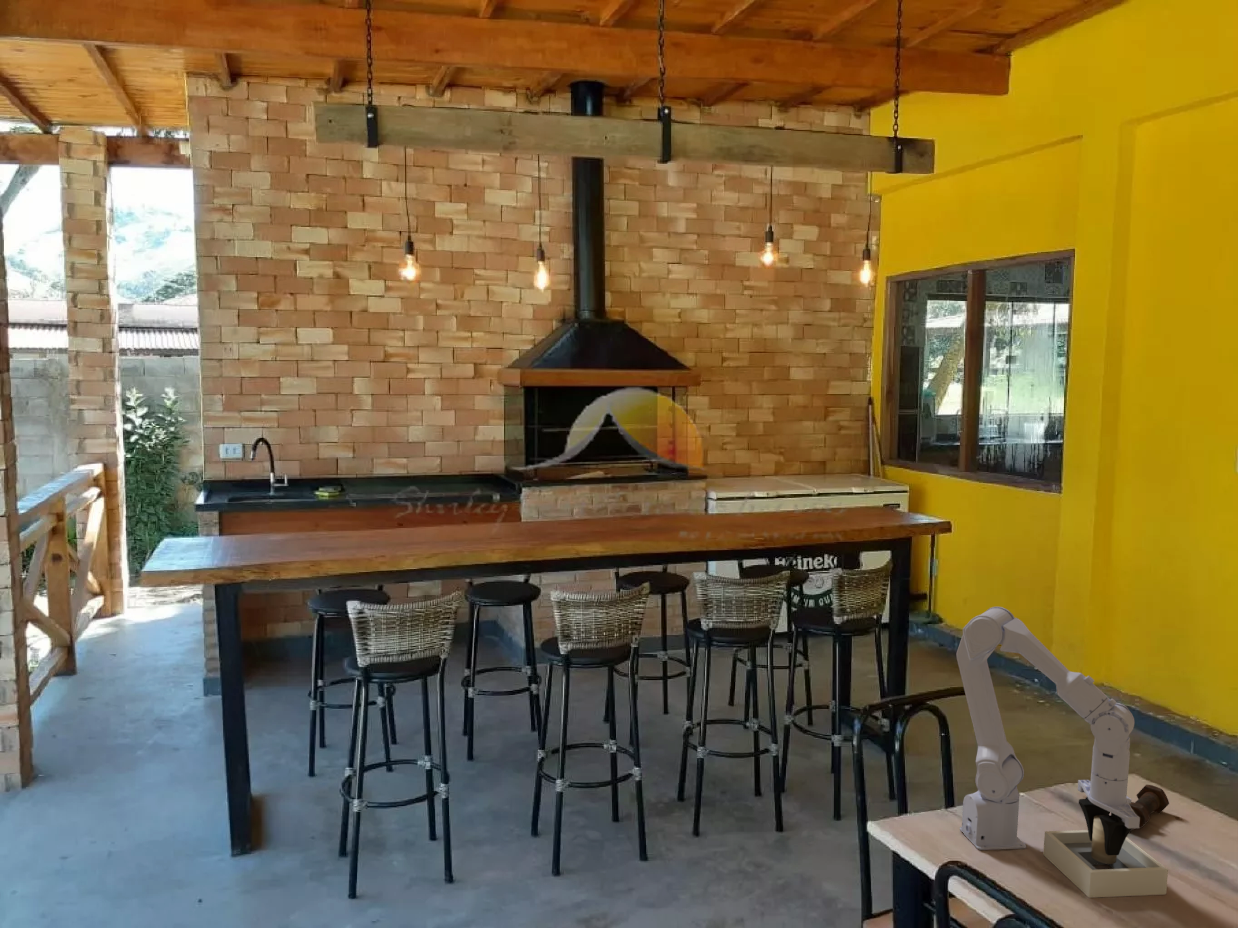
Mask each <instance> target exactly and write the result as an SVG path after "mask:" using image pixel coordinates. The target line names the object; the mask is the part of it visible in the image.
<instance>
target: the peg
mask: <svg viewBox="0 0 1238 928" xmlns="http://www.w3.org/2000/svg"><path fill="white" fill-rule="evenodd" d="M1100 816H1102V815H1096V816H1094V822H1093V835H1092V848H1091V857H1092V858H1093V859H1095V860H1096V861H1099V862H1102V863H1106V864H1105V865H1108V864H1113V863H1116V859H1117V855H1107V854H1106V852H1105V839H1104V830H1103V826H1102V823H1101V820H1100V818H1099V817H1100Z"/></svg>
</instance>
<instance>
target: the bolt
mask: <svg viewBox="0 0 1238 928" xmlns="http://www.w3.org/2000/svg"><path fill="white" fill-rule="evenodd" d="M1136 798H1137V800H1136V801H1131V803H1130V804H1129V805H1130V806H1131V808H1132V809H1133V811H1134V813H1135V814H1136V815H1137V816H1138V817H1140V823H1139V828H1138V829H1142V827H1144V826H1145V825H1146V824H1147V823H1148V821H1149V820H1150V819H1151V818H1150V815H1151V814H1152V813H1153V812H1154V813H1156V814H1159V813H1160V814H1161V813H1162V812H1163V811H1164V810H1165V809H1166V807H1168V806H1169V805H1170V801H1169V799H1168V796H1167V794H1166V793H1165V791H1164V790H1163V788H1160V787H1159V786H1157V785H1152V784H1145V785H1144V786H1143V787H1142V788H1141V789H1140V790H1139V791H1138V793H1137V794H1136ZM1135 829H1136V828H1133V829H1132V830H1131V831H1133V830H1135Z"/></svg>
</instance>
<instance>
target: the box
mask: <svg viewBox="0 0 1238 928" xmlns="http://www.w3.org/2000/svg"><path fill="white" fill-rule="evenodd" d="M1091 848H1092V841H1090V838H1089V833H1088V829H1081V830H1080V829H1077V830H1076V829H1075V830H1073V829H1072V830H1049V831H1047V830H1046V831H1044V838H1043V853H1042V855H1043V856H1044V857H1045V858H1046V859H1047V860H1048V861H1050V863H1052V865H1054V866H1055V867H1056V868H1057V869H1058V870H1059V871H1060V872H1061V873H1062V874H1063V875H1064V876H1065V877H1067V879H1068V880H1070V881H1071V883H1073V884H1074V885H1075V886H1076V887H1077V888H1078V889H1079V890H1080V891H1081V892H1082V893H1083V894H1085V895H1086V896H1087V897H1088V899H1089V898H1090V899H1091V898H1111V897H1112V898H1113V897H1114V898H1115V897H1130V896H1131V897H1136V896H1138V897H1139V896H1140V897H1141V896H1158V895H1159V896H1161V895H1164V896H1165V895H1166V894H1167V887H1168V876H1169V869H1168V868H1167V867H1166V866H1164V865H1163V864H1162V863H1161V862H1160V861H1158V860H1156V859H1155V858H1154V857H1153V856H1152V855H1150V854H1149V853H1148V852H1146V851H1145V850H1144V849H1142V848H1141V847H1140V846H1138V844H1136V843H1135V842H1133V841H1132V840H1131V839H1130V838H1129V837H1128V836H1127V837H1126V839H1125V841H1124V843H1123V845H1122V848H1121V850H1120V853H1119V855H1117V859H1116V863H1113V864H1106V863H1102V862H1099V861H1096V860H1095V859H1093V858H1092V857H1091ZM1095 865H1097V866H1099V865H1101V866H1102V865H1108V866H1109V867H1110V868H1109V869H1108V868H1105V869H1102V868H1101V869H1098V868H1096V867H1095Z"/></svg>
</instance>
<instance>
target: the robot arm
mask: <svg viewBox="0 0 1238 928" xmlns="http://www.w3.org/2000/svg"><path fill="white" fill-rule="evenodd" d="M999 645H1001V646H1000V649H999V651H1001V652H1005V653H1016V654H1020V655H1021V657H1023V658H1024V659H1025V660H1027V661H1028V662H1029V663H1030V664H1031V665H1033V666H1034V667H1035V668H1036V669H1037V670H1038V671H1040V672H1041V673H1042V674H1043V675H1044V676H1046V677H1047V678H1048V679H1049V680H1050V681H1052V682H1053V683H1054V684H1055V686H1056V692H1057V696H1058V697H1059V698H1060V699H1061V700H1063V701H1064V702H1065V703H1066V704H1067V705H1068V706H1069V707H1070V708H1071V709H1073V711H1075V712H1076V714H1077V715H1079V716H1080V717H1081V719H1083V720H1084V721H1085V722H1087V723H1088V724H1089V725H1090V731H1091V733H1092V735H1093V737H1094V743H1093V746H1092V757H1091V771H1090V772H1091V773H1090V780H1089V779H1078V780H1077V791H1079V792H1080V793H1084V794H1085V796H1086V797H1085V798H1079V799H1078V805H1079V807H1080V809H1081V811H1082V813H1083V816H1084V819H1085V823H1086V827H1087V830H1088V833H1089V838H1090V841H1092V835H1093V822H1094V816H1096V815H1102V816H1100V817H1099V818H1100V820H1101V823H1102V826H1103V830H1104V839H1105V852H1106V854H1107V855H1119V853H1120V850H1121V848H1122V845H1123V843H1124V841H1125V839H1126V837H1127V838H1128V835H1129V834H1130V833H1131V831H1133V830H1134V829H1133V828H1135V829H1140V828H1139V823H1140V817H1138V816H1137V815H1136V814H1135V813H1134V811H1133V809H1132V808H1131V806H1130V805H1129V804H1130V803H1131V802H1133V801H1132V798H1131V797H1129V796H1128V795H1127V794H1128V781H1129V780H1128V779H1129V771H1130V770H1129V769H1130V768H1129V767H1130V757H1131V752H1130V747H1131V737H1130V734H1131V733H1132V732H1133V730H1134V727H1135V717H1134V716H1133V713H1132V712H1131V711H1130V709H1129V707H1128V706H1127V705H1124V704H1123V703H1119V702H1117V700H1115V699H1114V698H1109V697H1108V695H1106V694H1105V693H1104V692H1103V691H1102V689H1099V687H1097V686H1096V685H1095V684H1094V682H1095V679H1094V678H1093V677H1092V676H1090V675H1087V676H1085V675H1084V674H1083V673H1082V672H1078V671H1077V672H1076V671H1071V670H1069V669H1068V668H1067V667H1066V666H1065V665H1064V664H1063V663H1062V662H1061V661H1060V660H1059V659H1058V658H1057V657H1056V656H1055V655H1054V653H1052V652H1051V651H1050V650H1049V649H1048V648H1047V647H1046V646H1045V645H1044V644H1043V642H1041V641H1040V640H1039V638H1037V637H1036V636H1035V635H1034V634H1033V633H1032V632H1031V631H1030V630H1029V628H1028V627H1027V626H1026V624H1025V623H1024V622H1023V621H1022V620H1021V619H1019V618H1017V617H1015V615H1014V614H1013V613H1012V612H1011V611H1010V610H1009V609H1007V608H1004V607H1003V606H992V607H989V608H988V609H987V610H986V611H984V612H983V613H980V614H978V615H976V616H974V617H973V618H971V619H970V620H969V621H968V623H967V624H965V626H964V627H963V628H962V636H961V639H960V642H959V645H958V647H957V651H956V660H957V665H958V669H959V673H960V677H961V682H962V685H963V690H964V693H965V697H966V702H967V706H968V710H969V711H968V712H969V715H970V717H971V718H970V719H971V722H972V726H973V730H974V735H975V739H976V743H977V752H976V757H975V765H976V775H975V785H976V789H977V791H975V792H972V793H968V794H965V796H964V798H963V802H962V811H961V812H962V813H961V814H962V817H961V820H962V821H961V826H960V827H959V831H961V832H963V833H964V834H963V833H962V834H963V835H964V836H965V837H966V838H967V839H968V840H969V841H970V843H972V844H973V845H974V847H975V848H976V849H977V850H979V851H986V850H987V851H988V850H1014V849H1015V850H1017V849H1019V850H1020V849H1026V848H1027V845H1026V844H1025V843H1024V841H1022V839H1020V838H1019V837H1018V826H1019V824H1018V823H1019V810H1020V808H1019V807H1020V793H1019V789H1018V784H1020V783H1021V782H1022V781H1023V779H1024V775H1025V770H1024V766H1023V764H1022V763H1021V761H1020V760H1019V759H1018V758H1017V756H1016V753H1015V750H1014V747H1013V746H1012V745H1011V744H1010V743H1009V741H1007V740H1008V739H1007V736H1006V732H1005V728H1004V725H1003V721H1002V716H1001V711H1000V709H999V704H998V700H997V696H996V691H995V688H994V685H993V680H992V676H991V672H990V668H989V664H988V658H989V657H990V656H991V654H993V653H994V651H995V649H996V648H997V646H999ZM1132 829H1133V830H1132Z"/></svg>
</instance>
